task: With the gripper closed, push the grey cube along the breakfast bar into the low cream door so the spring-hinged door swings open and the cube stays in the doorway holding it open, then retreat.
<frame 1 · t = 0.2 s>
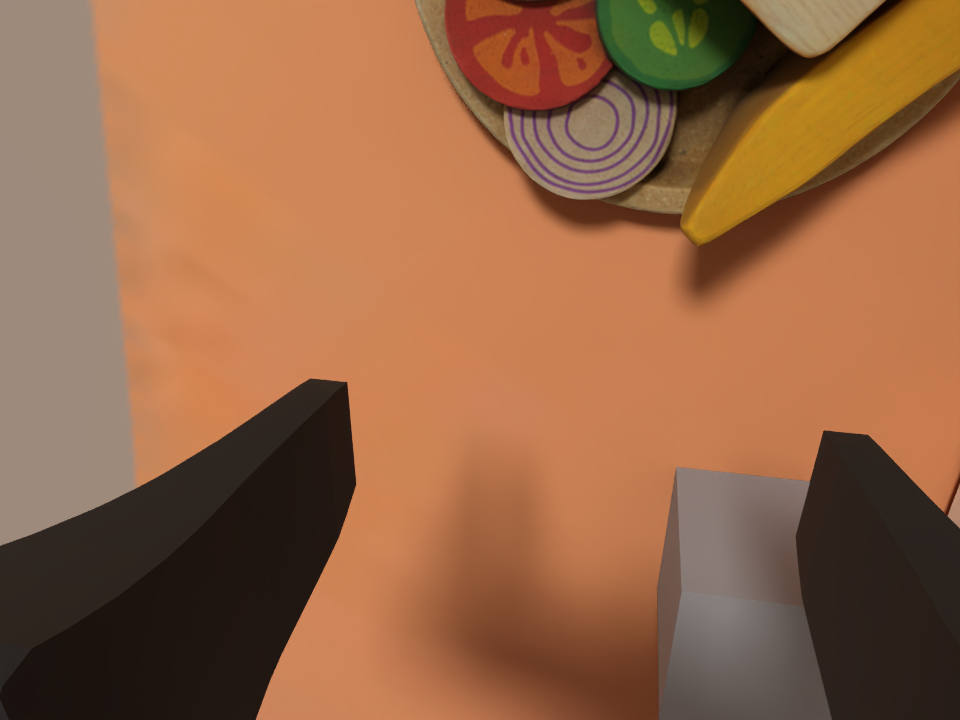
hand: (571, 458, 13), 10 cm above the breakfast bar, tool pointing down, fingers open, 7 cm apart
grey cube: (749, 538, 26), on the breakfast bar
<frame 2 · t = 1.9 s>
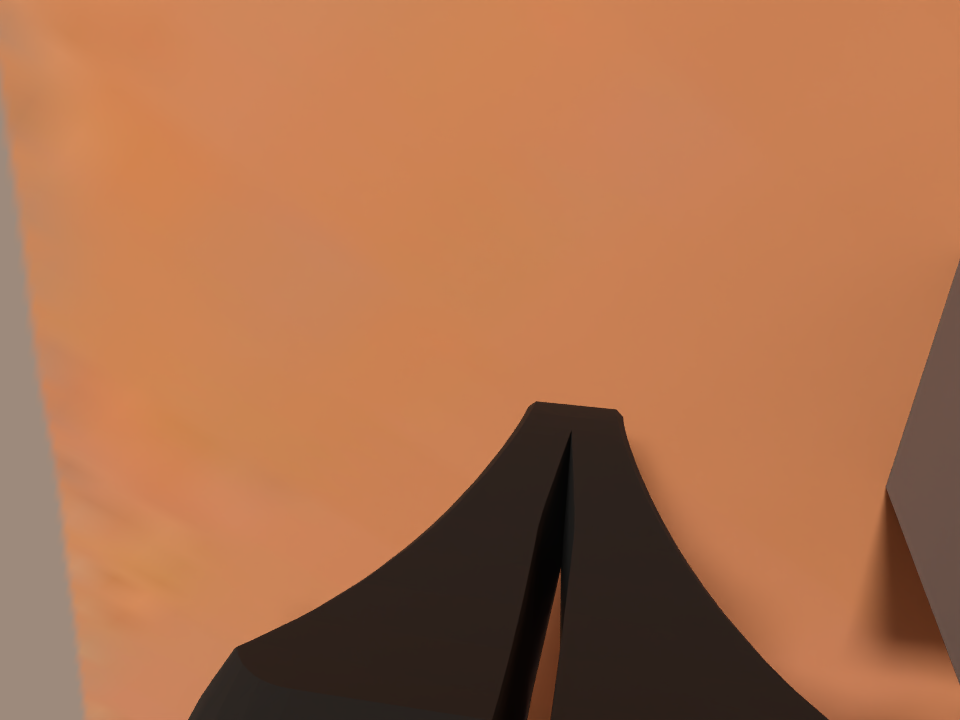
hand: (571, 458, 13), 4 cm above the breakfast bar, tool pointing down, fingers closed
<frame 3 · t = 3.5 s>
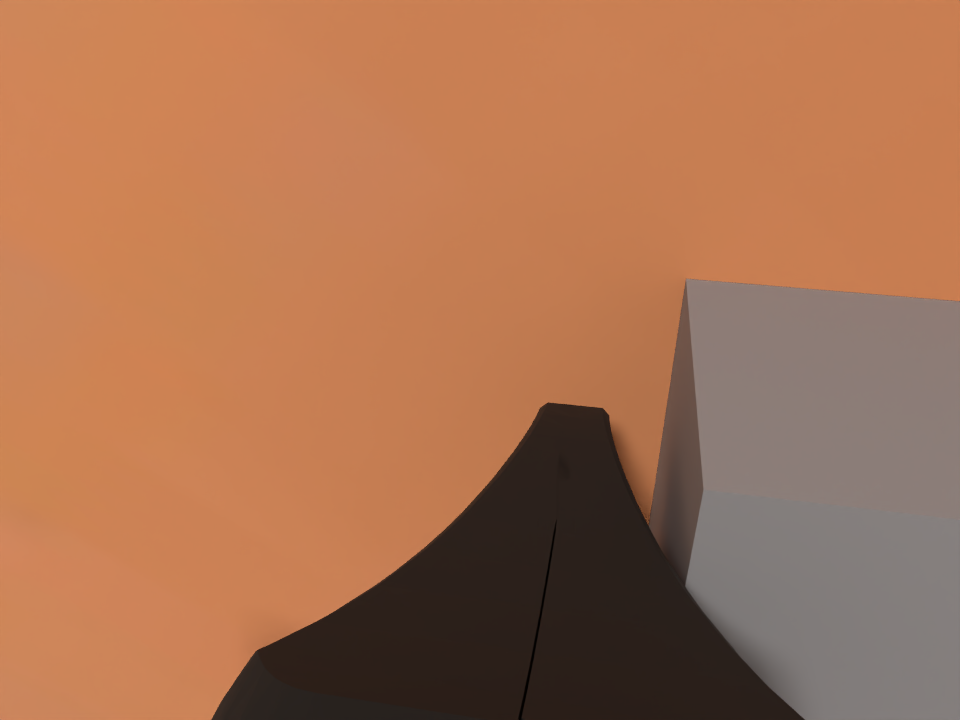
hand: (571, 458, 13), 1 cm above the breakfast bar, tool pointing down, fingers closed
grey cube: (822, 432, 14), on the breakfast bar, touching gripper
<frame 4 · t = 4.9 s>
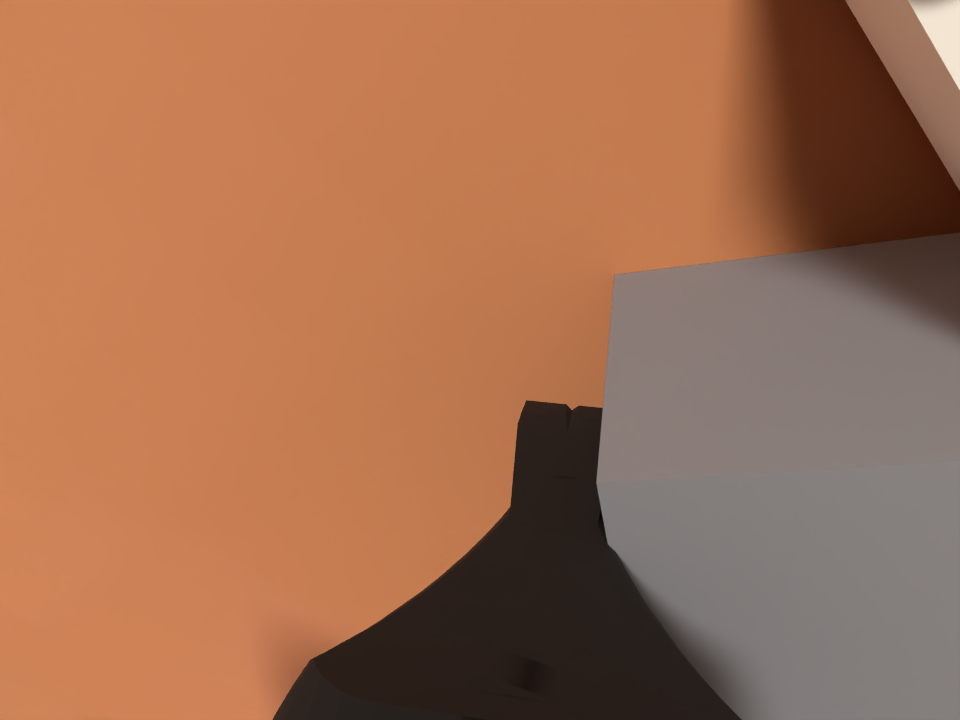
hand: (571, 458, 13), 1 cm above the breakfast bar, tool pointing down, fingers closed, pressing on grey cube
grey cube: (794, 397, 13), on the breakfast bar, touching door, gripper
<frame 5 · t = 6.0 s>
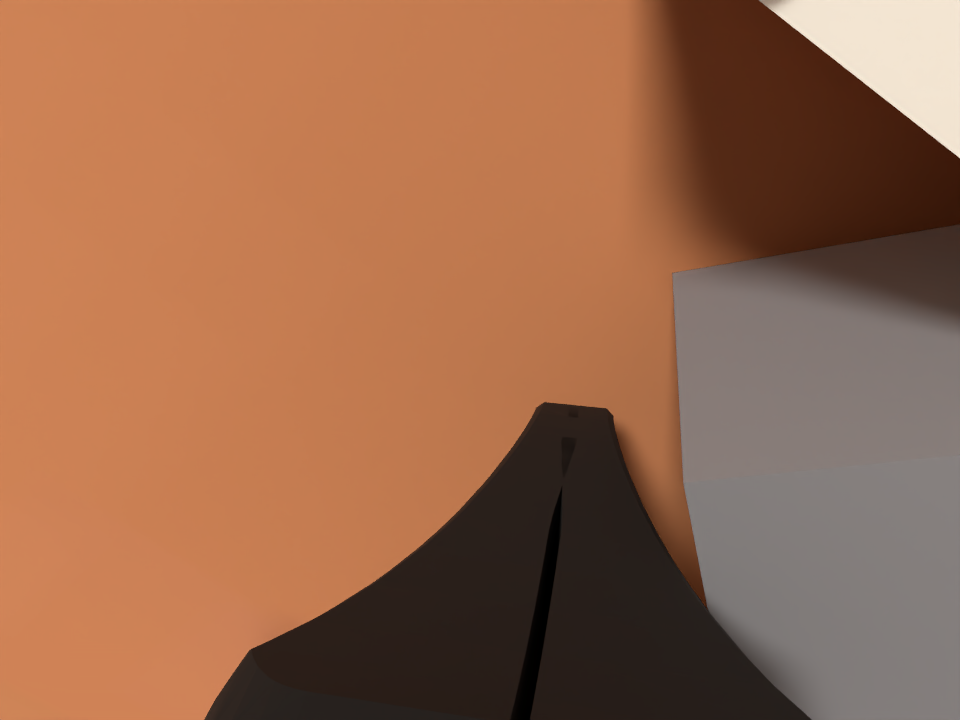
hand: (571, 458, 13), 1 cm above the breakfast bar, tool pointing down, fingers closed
grey cube: (860, 389, 13), on the breakfast bar, touching door, gripper
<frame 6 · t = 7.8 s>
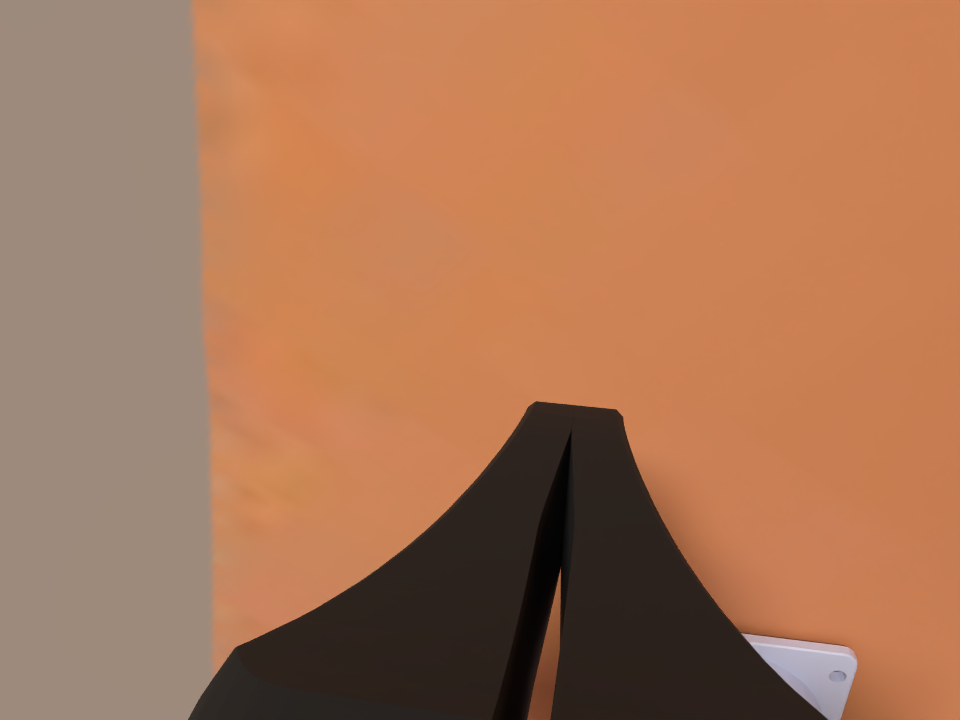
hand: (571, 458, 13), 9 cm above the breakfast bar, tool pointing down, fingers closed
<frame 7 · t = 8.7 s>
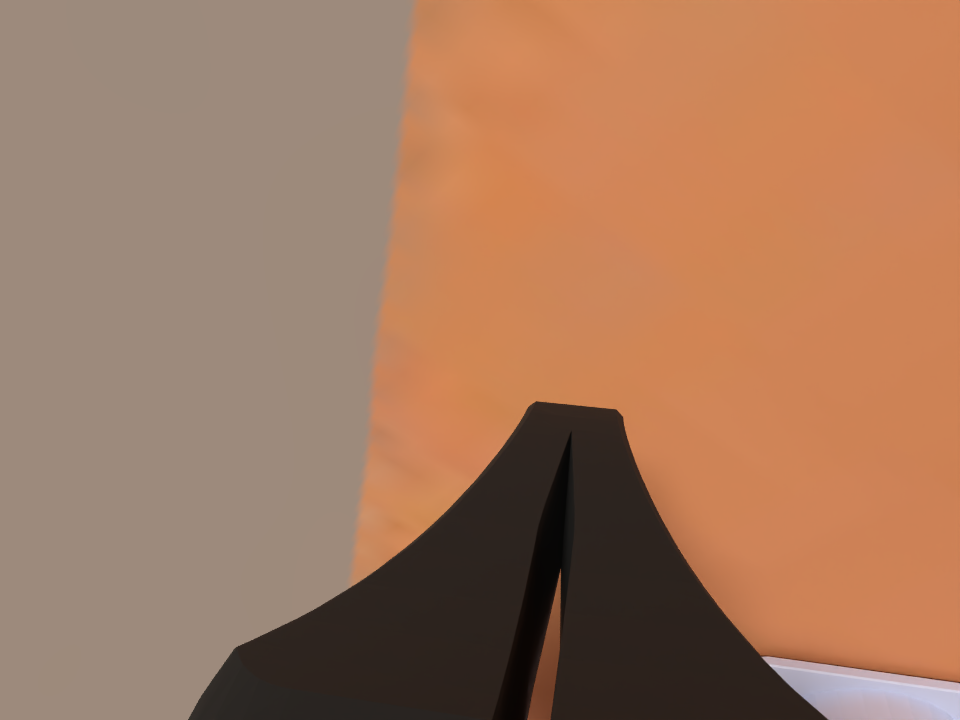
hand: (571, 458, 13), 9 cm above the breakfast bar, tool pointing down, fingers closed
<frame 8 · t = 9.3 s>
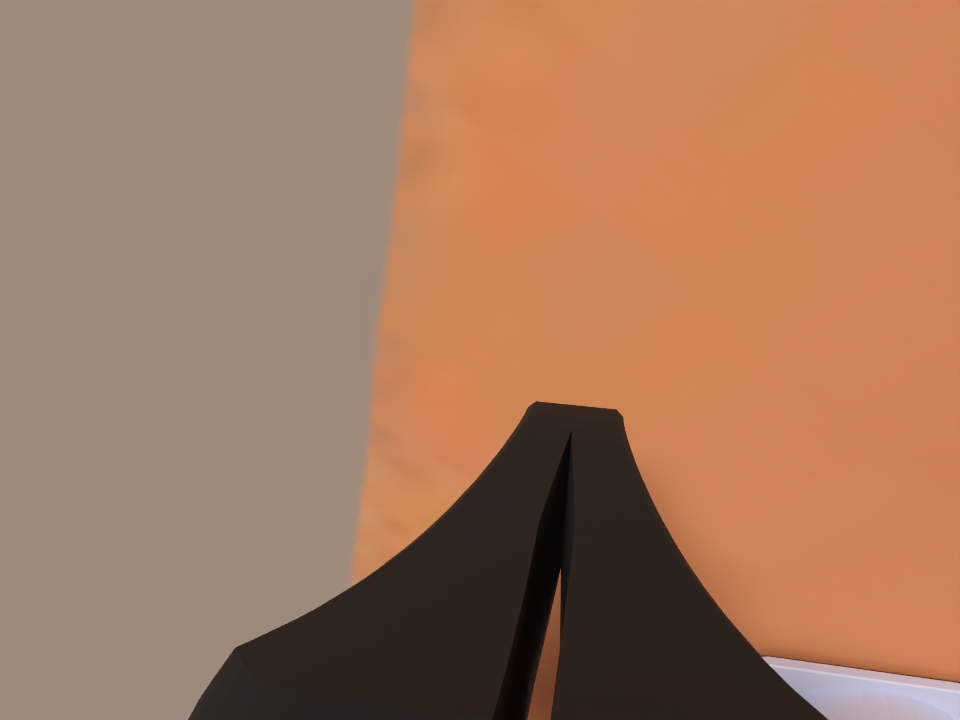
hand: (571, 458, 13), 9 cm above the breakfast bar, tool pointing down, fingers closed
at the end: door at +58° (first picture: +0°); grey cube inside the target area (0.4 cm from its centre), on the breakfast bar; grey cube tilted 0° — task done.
